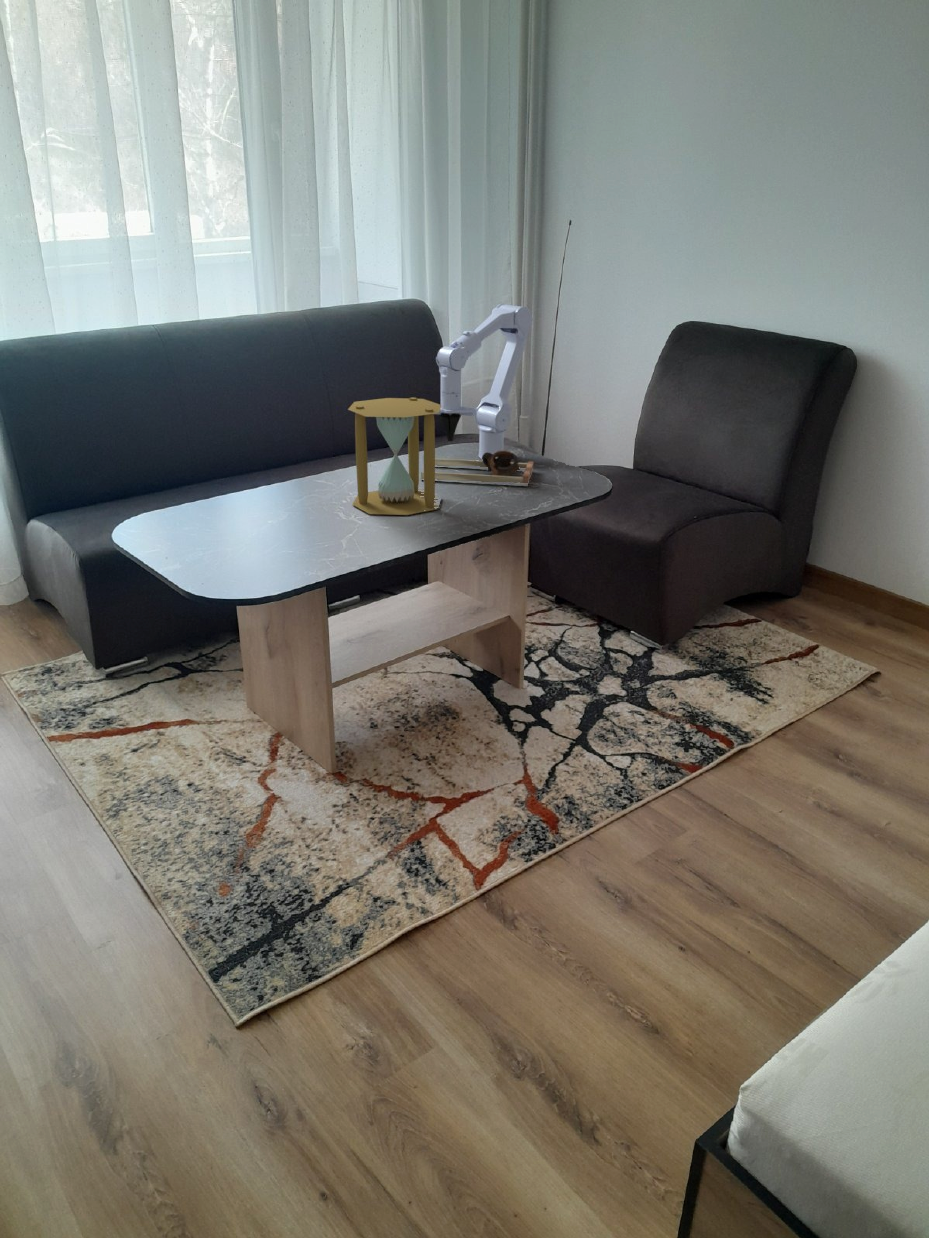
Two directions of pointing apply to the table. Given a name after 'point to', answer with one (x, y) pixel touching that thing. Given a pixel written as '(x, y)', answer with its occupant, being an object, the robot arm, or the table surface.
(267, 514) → the table surface
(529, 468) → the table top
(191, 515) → the table surface
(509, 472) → the pottery mug
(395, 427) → the hourglass
